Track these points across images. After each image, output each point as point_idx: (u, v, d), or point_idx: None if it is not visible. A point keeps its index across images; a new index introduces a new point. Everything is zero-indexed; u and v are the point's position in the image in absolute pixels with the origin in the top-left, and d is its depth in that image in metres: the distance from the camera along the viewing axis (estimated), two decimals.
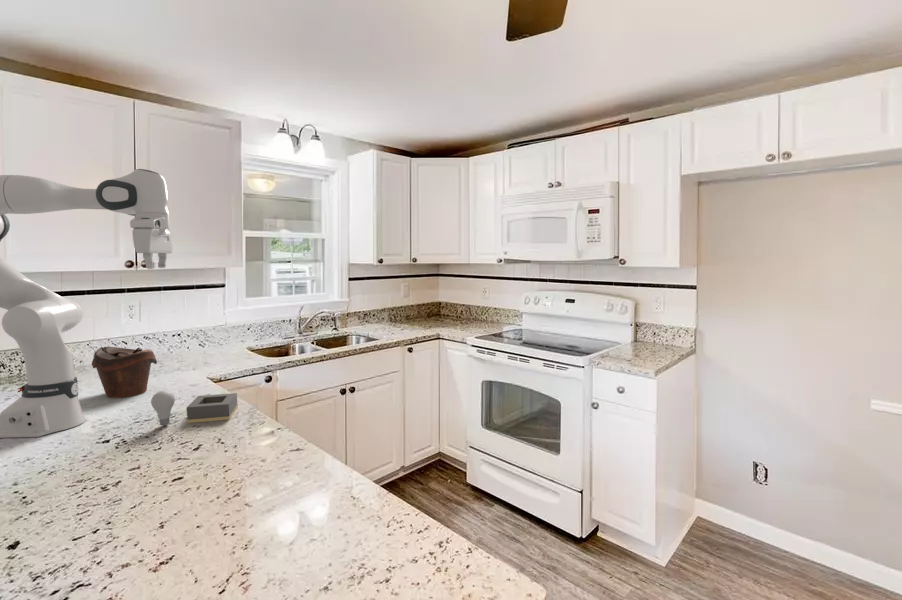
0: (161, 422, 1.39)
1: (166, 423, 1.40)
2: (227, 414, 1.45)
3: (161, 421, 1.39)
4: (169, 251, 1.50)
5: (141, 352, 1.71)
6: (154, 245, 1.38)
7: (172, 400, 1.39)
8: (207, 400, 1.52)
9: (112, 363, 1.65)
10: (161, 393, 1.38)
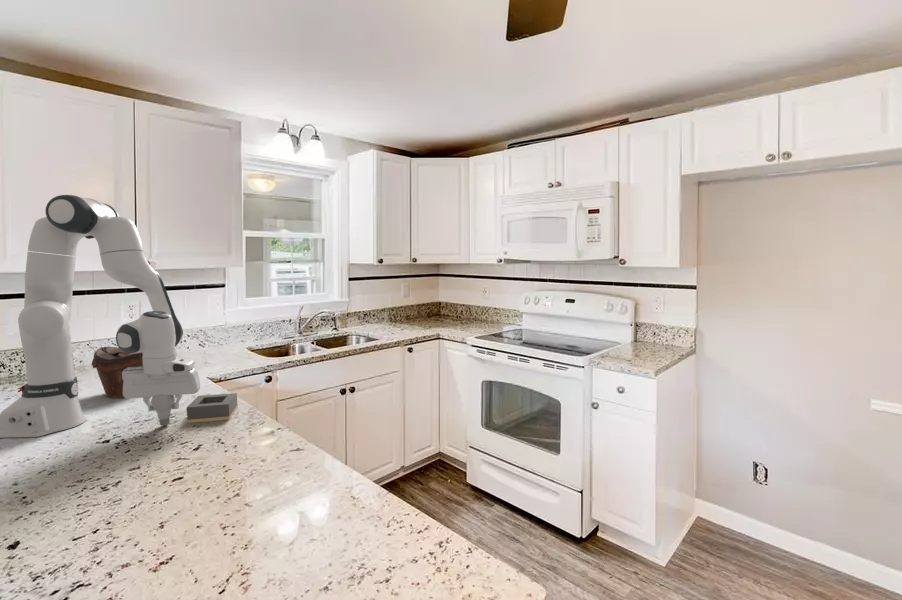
0: (161, 422, 1.39)
1: (166, 423, 1.40)
2: (227, 414, 1.45)
3: (161, 421, 1.39)
4: None
5: (141, 352, 1.71)
6: None
7: (172, 400, 1.39)
8: (207, 400, 1.52)
9: (112, 363, 1.65)
10: None
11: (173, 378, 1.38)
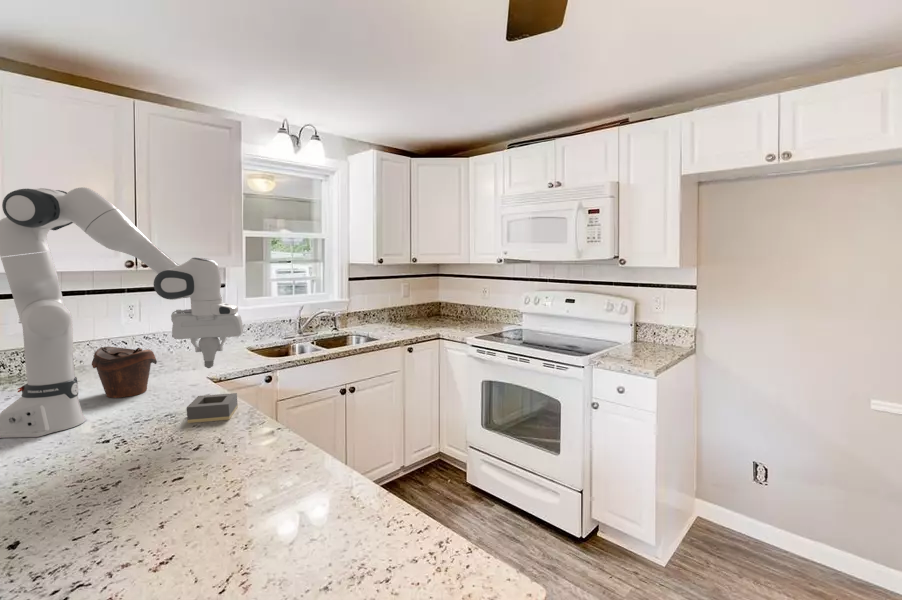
0: (206, 364, 1.47)
1: (210, 365, 1.47)
2: (227, 414, 1.45)
3: (206, 363, 1.47)
4: None
5: (141, 352, 1.71)
6: None
7: (218, 344, 1.47)
8: (207, 400, 1.52)
9: (112, 363, 1.65)
10: None
11: (219, 321, 1.46)
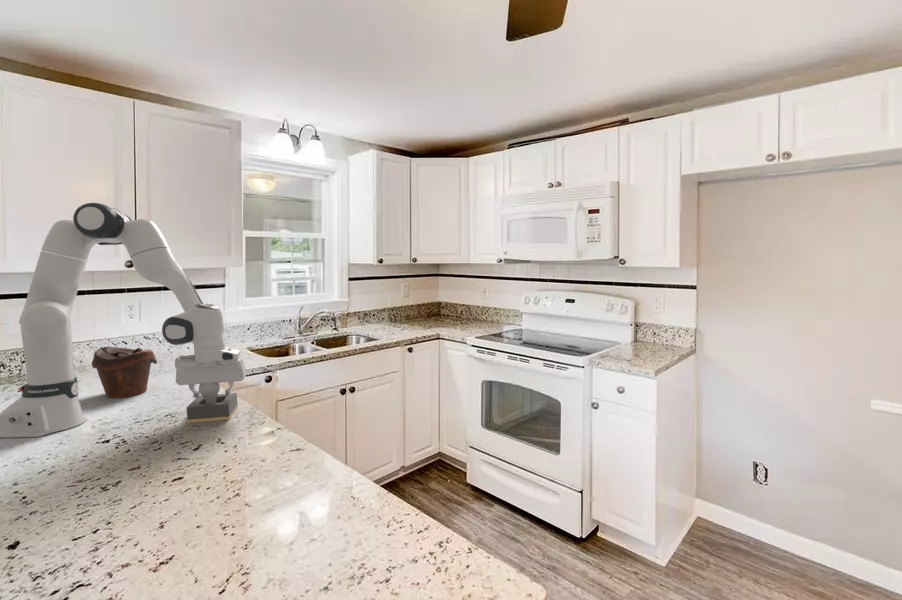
0: None
1: None
2: (227, 414, 1.45)
3: None
4: None
5: (141, 352, 1.71)
6: None
7: (218, 387, 1.49)
8: None
9: (112, 363, 1.65)
10: None
11: (222, 366, 1.48)
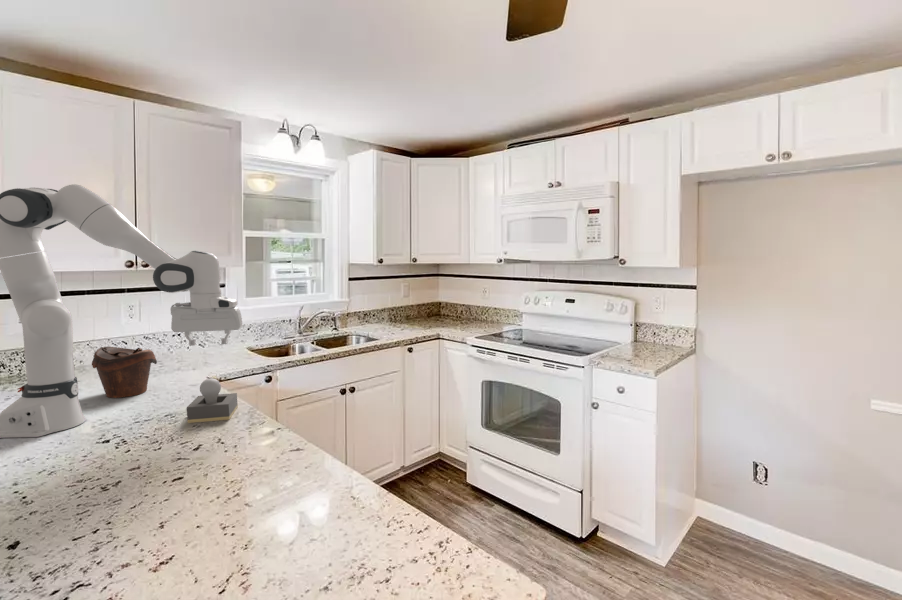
0: None
1: None
2: (227, 414, 1.45)
3: None
4: None
5: (141, 352, 1.71)
6: None
7: (219, 387, 1.49)
8: None
9: (112, 363, 1.65)
10: (209, 380, 1.48)
11: (218, 314, 1.46)
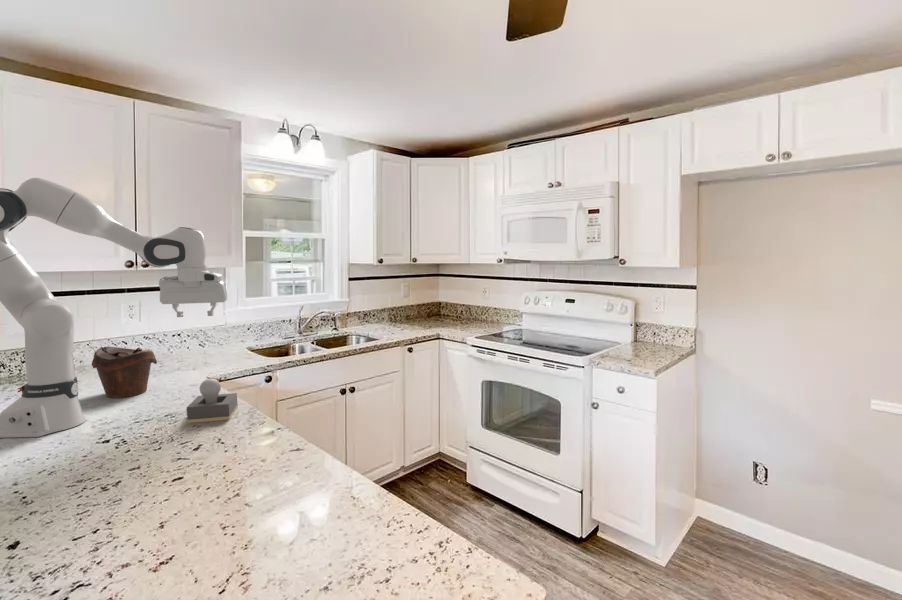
0: None
1: None
2: (227, 414, 1.45)
3: None
4: None
5: (141, 352, 1.71)
6: None
7: (219, 387, 1.49)
8: None
9: (112, 363, 1.65)
10: (209, 381, 1.48)
11: (204, 287, 1.55)
